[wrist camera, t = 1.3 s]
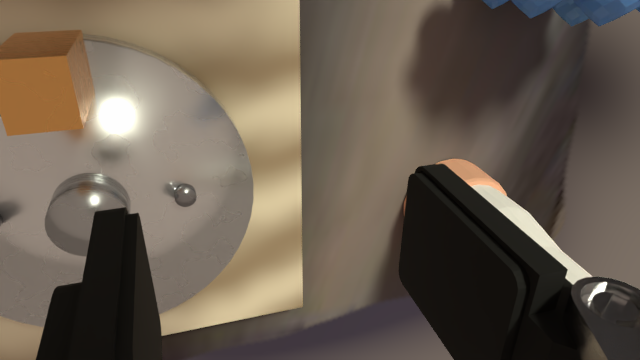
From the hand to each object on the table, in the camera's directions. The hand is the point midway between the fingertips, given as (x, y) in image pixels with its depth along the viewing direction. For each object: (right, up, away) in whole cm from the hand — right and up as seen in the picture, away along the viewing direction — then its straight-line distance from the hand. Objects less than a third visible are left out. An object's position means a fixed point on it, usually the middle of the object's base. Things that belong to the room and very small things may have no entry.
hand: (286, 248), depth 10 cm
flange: (-12, +1, +18) cm, 22 cm away
